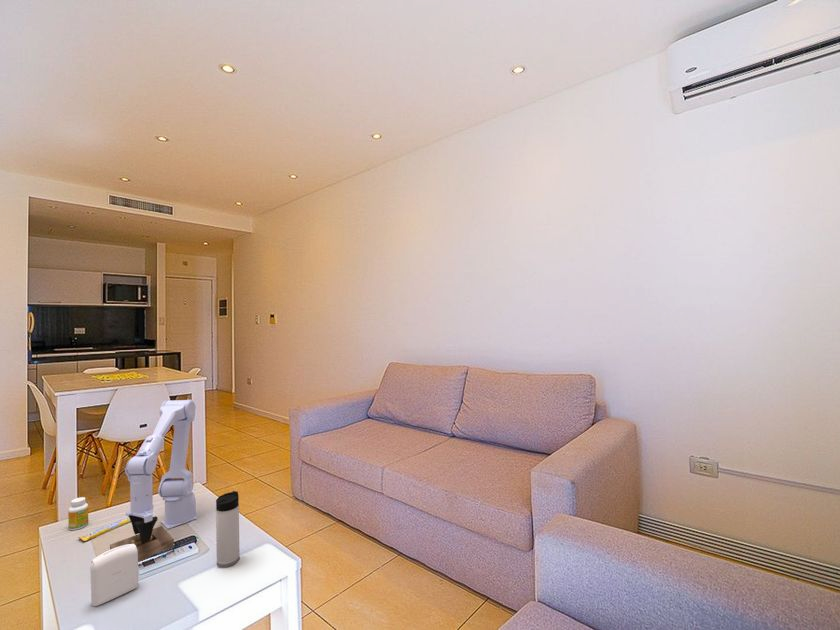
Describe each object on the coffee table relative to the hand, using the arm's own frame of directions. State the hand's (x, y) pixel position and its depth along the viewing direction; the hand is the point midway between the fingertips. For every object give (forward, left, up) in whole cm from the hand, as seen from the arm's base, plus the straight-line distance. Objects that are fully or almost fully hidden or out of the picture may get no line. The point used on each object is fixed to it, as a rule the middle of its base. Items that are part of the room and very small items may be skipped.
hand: (142, 537), depth 124 cm
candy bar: (+3, -27, -6) cm, 28 cm away
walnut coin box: (0, 0, -5) cm, 5 cm away
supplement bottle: (+10, -38, -6) cm, 40 cm away
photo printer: (+10, +16, -6) cm, 20 cm away
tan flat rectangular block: (0, 0, -5) cm, 5 cm away
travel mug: (-16, +25, -6) cm, 30 cm away
